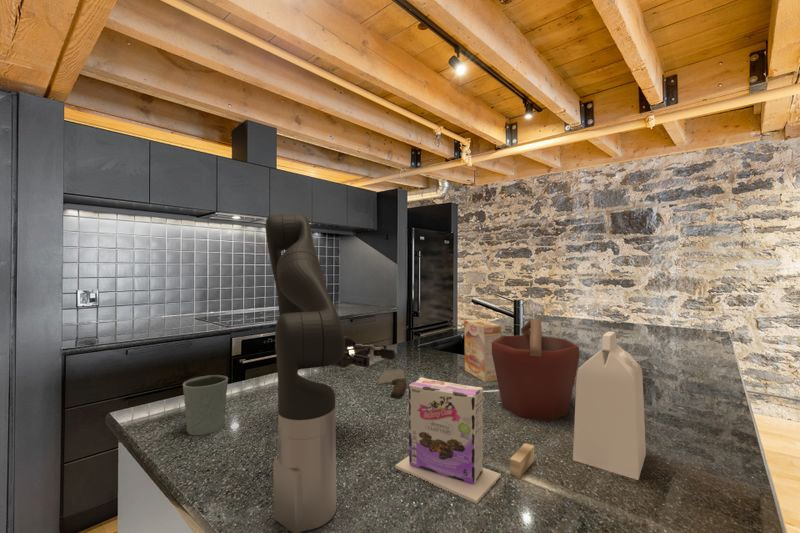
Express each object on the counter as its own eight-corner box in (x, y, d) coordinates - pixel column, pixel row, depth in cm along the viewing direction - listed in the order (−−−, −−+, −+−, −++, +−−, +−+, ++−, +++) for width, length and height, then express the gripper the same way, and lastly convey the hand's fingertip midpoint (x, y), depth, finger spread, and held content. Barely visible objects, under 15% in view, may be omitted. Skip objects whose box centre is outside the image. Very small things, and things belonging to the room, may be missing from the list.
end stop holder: (520, 477, 70) (519, 462, 70) (432, 446, 83) (432, 432, 83) (534, 460, 76) (534, 445, 76) (451, 433, 89) (451, 420, 89)
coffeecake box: (464, 370, 141) (463, 319, 141) (480, 368, 143) (480, 318, 143) (484, 382, 127) (483, 325, 127) (502, 380, 129) (501, 324, 129)
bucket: (508, 388, 120) (507, 312, 120) (583, 401, 109) (583, 316, 109) (484, 415, 99) (483, 323, 99) (574, 434, 88) (574, 329, 88)
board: (476, 504, 63) (476, 500, 63) (395, 468, 74) (395, 465, 74) (500, 477, 71) (500, 474, 71) (423, 448, 82) (423, 445, 82)
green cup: (178, 439, 88) (177, 388, 87) (190, 421, 97) (189, 376, 97) (224, 433, 90) (223, 384, 90) (231, 416, 100) (231, 372, 100)
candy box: (407, 465, 74) (407, 383, 74) (421, 452, 79) (420, 375, 79) (474, 486, 67) (473, 395, 67) (484, 470, 72) (483, 386, 72)
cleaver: (408, 398, 113) (408, 391, 113) (376, 399, 112) (376, 392, 112) (403, 371, 142) (403, 366, 142) (378, 372, 142) (378, 367, 142)
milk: (586, 438, 86) (586, 327, 86) (645, 454, 78) (645, 332, 78) (572, 460, 76) (571, 335, 76) (638, 480, 69) (637, 342, 69)
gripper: (310, 339, 87) (358, 347, 77) (354, 331, 98) (401, 337, 88) (310, 371, 87) (359, 383, 77) (354, 359, 98) (401, 368, 88)
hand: (381, 358), depth 83 cm, fingers open, 8 cm apart
